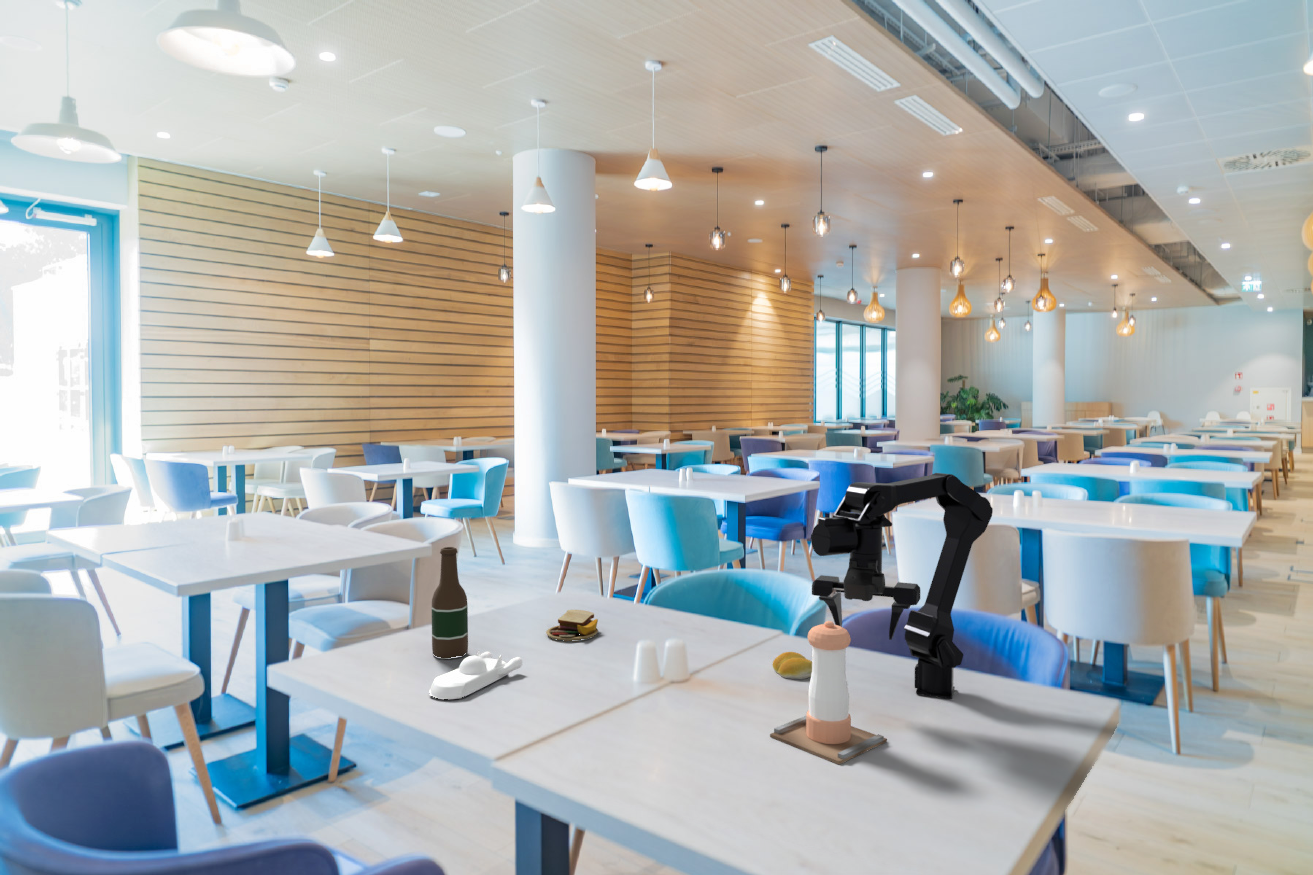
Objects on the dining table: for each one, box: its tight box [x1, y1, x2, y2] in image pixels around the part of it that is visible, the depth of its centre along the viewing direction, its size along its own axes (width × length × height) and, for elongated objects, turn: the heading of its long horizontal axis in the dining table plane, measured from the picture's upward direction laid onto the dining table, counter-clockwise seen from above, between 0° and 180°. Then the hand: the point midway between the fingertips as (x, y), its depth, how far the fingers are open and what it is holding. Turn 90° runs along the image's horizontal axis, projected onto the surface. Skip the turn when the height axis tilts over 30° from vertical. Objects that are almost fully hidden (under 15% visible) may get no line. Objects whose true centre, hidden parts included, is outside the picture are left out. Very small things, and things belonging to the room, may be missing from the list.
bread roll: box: [771, 651, 812, 680], centre depth 169 cm, size 8×9×4 cm
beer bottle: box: [431, 546, 469, 658], centre depth 182 cm, size 8×8×24 cm
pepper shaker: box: [805, 620, 852, 744], centre depth 136 cm, size 7×7×19 cm
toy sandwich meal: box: [545, 609, 599, 642], centre depth 198 cm, size 12×14×5 cm
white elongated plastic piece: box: [428, 650, 523, 700], centre depth 163 cm, size 10×20×6 cm, turn 152°
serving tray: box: [769, 715, 888, 765], centre depth 136 cm, size 13×14×1 cm
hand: (865, 636), depth 150 cm, fingers open, 9 cm apart
